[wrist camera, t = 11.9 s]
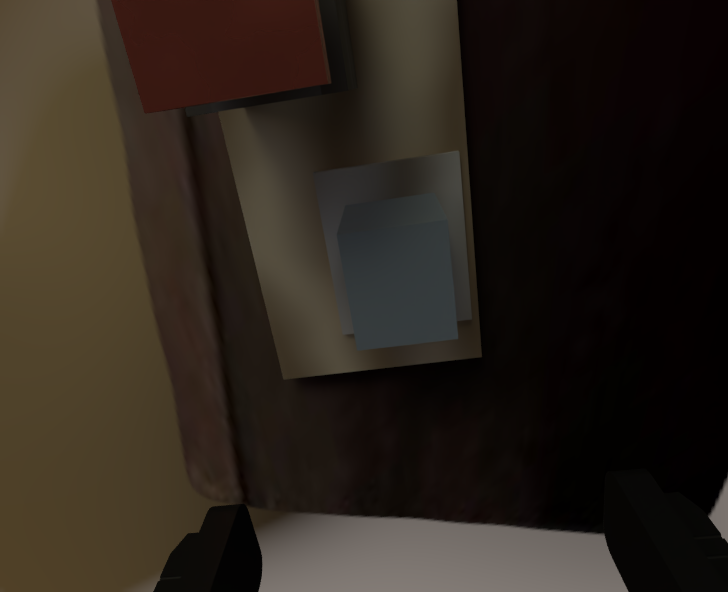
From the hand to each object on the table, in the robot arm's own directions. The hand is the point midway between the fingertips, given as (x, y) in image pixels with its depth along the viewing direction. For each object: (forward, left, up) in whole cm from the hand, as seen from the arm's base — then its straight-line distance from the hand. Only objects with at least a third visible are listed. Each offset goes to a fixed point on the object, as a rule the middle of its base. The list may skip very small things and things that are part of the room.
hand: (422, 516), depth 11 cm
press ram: (+4, -12, -15) cm, 19 cm away
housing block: (0, 0, -20) cm, 20 cm away
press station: (+2, -4, -22) cm, 22 cm away
